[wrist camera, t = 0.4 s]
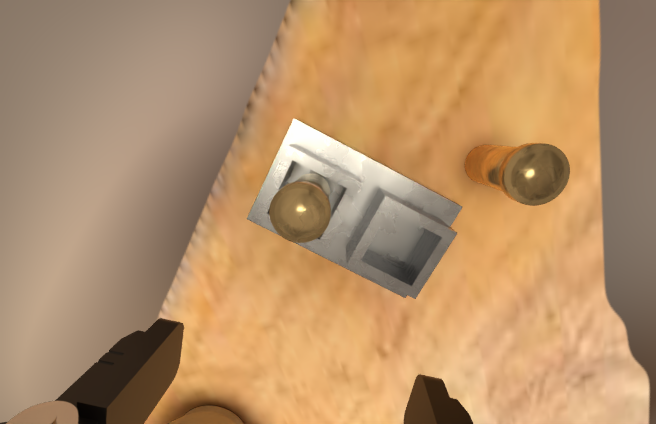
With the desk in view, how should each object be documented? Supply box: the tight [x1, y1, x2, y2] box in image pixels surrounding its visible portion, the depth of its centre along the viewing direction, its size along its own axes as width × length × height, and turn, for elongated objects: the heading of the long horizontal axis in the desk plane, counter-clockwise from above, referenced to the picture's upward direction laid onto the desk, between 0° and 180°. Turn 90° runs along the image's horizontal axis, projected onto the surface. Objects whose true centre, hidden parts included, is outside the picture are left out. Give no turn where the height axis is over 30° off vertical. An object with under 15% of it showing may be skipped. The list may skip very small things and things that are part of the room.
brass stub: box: [465, 143, 570, 206], centre depth 31 cm, size 5×5×10 cm
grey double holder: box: [247, 119, 462, 299], centre depth 32 cm, size 12×20×11 cm, turn 63°
